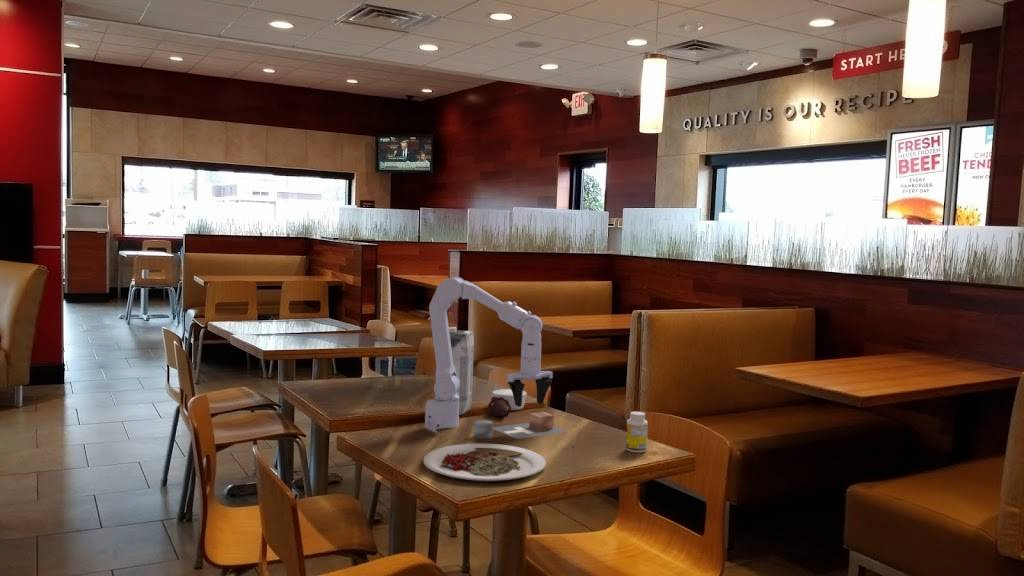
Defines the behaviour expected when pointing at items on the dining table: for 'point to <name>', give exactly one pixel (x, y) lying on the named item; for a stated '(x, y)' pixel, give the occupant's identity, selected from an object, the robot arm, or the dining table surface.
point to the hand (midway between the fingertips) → (529, 404)
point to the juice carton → (463, 365)
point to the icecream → (498, 407)
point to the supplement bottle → (636, 432)
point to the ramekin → (510, 397)
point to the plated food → (483, 462)
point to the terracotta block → (541, 421)
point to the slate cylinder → (483, 429)
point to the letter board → (525, 431)
